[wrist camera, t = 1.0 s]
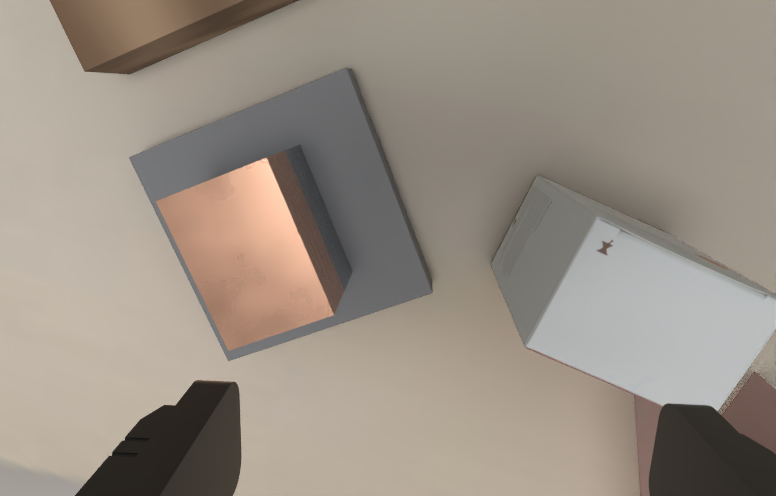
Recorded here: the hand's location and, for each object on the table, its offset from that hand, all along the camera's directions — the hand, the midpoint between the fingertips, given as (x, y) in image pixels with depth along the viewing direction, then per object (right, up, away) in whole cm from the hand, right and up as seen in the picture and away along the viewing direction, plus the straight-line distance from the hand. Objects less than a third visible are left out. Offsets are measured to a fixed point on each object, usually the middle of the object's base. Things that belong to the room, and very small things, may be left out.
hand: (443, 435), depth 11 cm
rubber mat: (-6, +5, +20) cm, 22 cm away
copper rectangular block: (-6, +5, +18) cm, 20 cm away
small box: (+9, +4, +20) cm, 22 cm away
